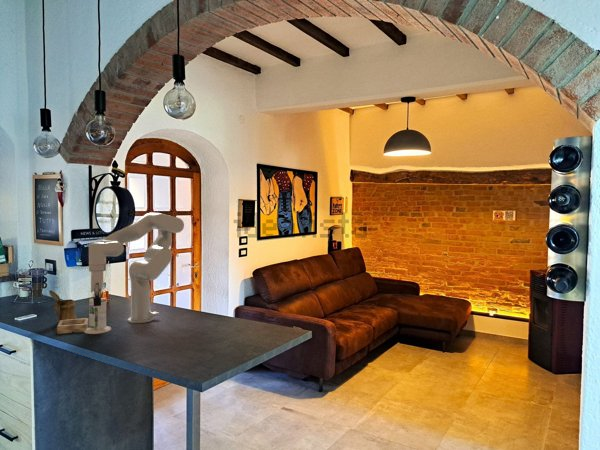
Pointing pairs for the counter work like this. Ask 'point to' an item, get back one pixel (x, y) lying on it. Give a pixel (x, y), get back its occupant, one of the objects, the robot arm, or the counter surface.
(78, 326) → the oak collar
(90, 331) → the cream shiny round part
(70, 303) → the wooden mug
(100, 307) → the syrup box
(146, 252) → the robot arm
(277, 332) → the counter surface
